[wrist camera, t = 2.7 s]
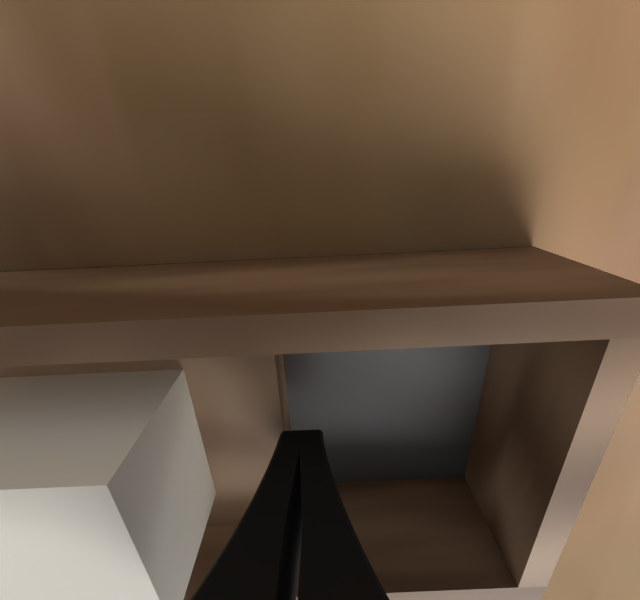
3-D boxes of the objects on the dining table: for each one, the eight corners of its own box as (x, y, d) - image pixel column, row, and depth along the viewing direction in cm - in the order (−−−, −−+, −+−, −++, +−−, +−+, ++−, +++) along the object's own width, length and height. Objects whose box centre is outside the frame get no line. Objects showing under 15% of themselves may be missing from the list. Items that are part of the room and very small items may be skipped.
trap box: (479, 484, 15) (539, 601, 11) (-158, 512, 15) (-331, 637, 11) (533, 246, 11) (673, 295, 6) (-381, 290, 11) (-815, 365, 7)
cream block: (216, 493, 12) (173, 630, 9) (67, 499, 12) (-38, 639, 9) (183, 369, 10) (106, 485, 6) (0, 377, 10) (-182, 497, 6)
